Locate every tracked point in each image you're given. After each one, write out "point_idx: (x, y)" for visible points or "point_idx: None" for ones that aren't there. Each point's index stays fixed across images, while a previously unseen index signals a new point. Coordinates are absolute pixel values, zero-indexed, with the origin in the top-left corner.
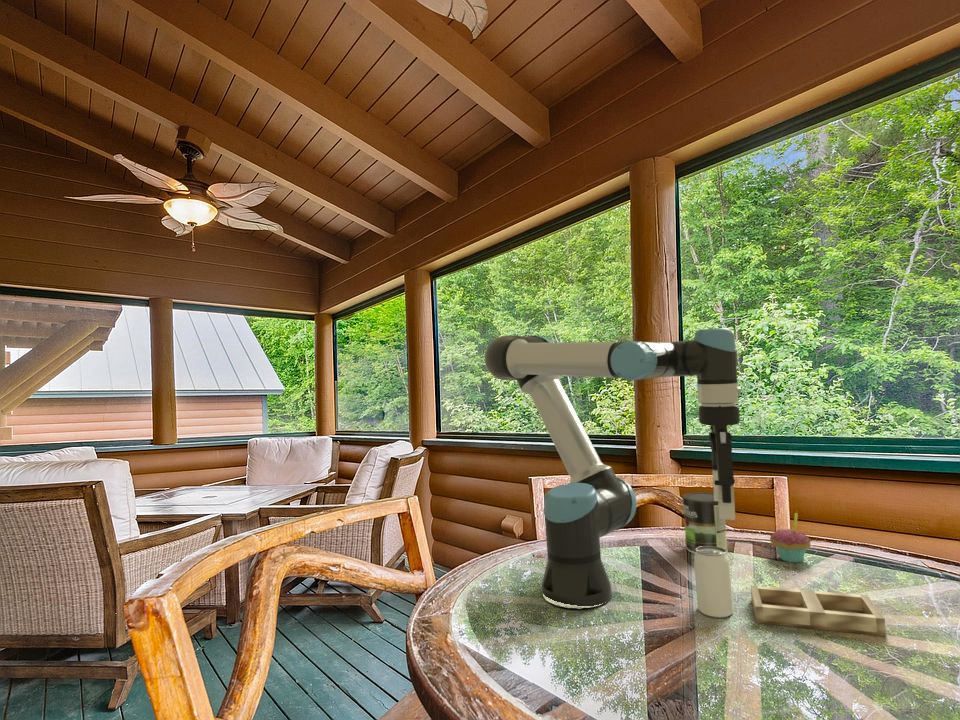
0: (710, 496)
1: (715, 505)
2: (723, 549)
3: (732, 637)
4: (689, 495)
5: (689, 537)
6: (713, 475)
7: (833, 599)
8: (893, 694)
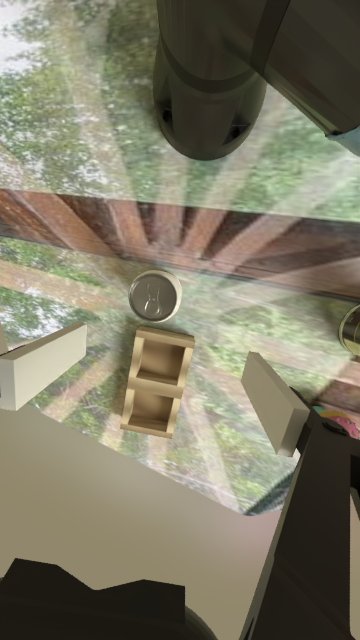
0: None
1: None
2: (158, 320)
3: (106, 293)
4: None
5: None
6: (282, 396)
7: (171, 408)
8: None
